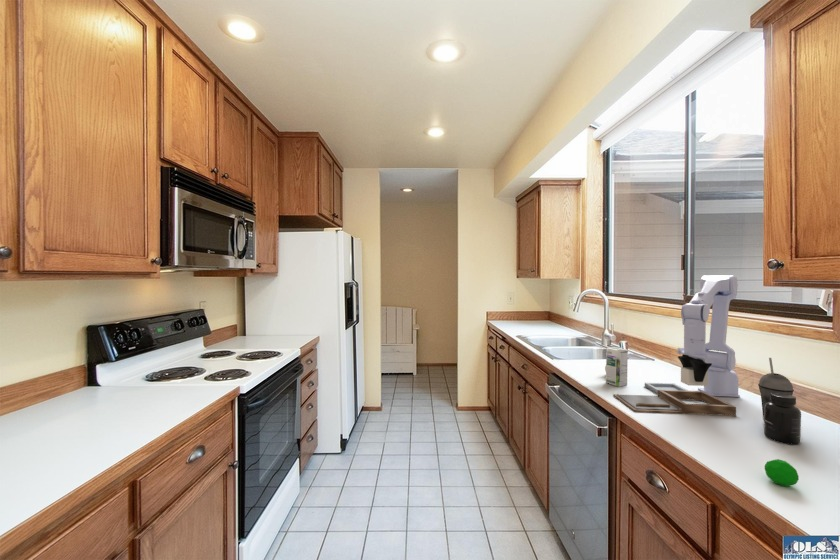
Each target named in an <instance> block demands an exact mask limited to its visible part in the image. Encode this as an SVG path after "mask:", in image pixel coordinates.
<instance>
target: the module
mask: <svg viewBox="0 0 840 560" xmlns="http://www.w3.org/2000/svg"><path fill="white" fill-rule="evenodd" d="M680 383H683V384H684V385H687V386H695V387H696V386H697V387H698V386H700V387H702V386H703V387H704V386H708V371H707V372H706V374H705V377H704V380H703V382H696V381H695V379H694V371H693V367H683V366H681V367H680Z"/></svg>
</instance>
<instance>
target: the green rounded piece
mask: <svg viewBox="0 0 840 560" xmlns="http://www.w3.org/2000/svg"><path fill="white" fill-rule="evenodd" d="M764 471H765V474H766V476H767V478H769V479H770V480H771V481H772V482H773V483H775V484H776V485H779V486H782V487H789V486H795V485H796V484H797V483H798V482H799V474H798V471H797V469H796V468H795V467H794V466H793V465H791V464H790V463H789V462H787V461H786V460H782V459H777V458H776V459H773V460H769V461H766V462H765V463H764Z"/></svg>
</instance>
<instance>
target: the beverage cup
mask: <svg viewBox="0 0 840 560" xmlns="http://www.w3.org/2000/svg"><path fill="white" fill-rule="evenodd" d="M768 361H769V367H770V372H769V373H766V374H764V375H762V376H761V377H760V379H759V381H758V389H759V393H760V400H761V408H762V419H763V421H764V416H765V404H766V403H767V402H771V400H770V393H771V392H778V393H785V394H789V395H792V396H794V387H793V386H794V385H793V384H792V381H790V379H788V377H786V376H785V375H783V374H780V373H776V372H774V367H773V358H772V357H768Z"/></svg>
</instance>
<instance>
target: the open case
mask: <svg viewBox="0 0 840 560" xmlns="http://www.w3.org/2000/svg"><path fill="white" fill-rule="evenodd" d="M613 397H614V398H615V397H616V398H615V399H617V400H618V401H619V400H620V401H619V402H621V403H622V404H624V405H625V407H627V408H629V409H630V410H631V411H633V412H635V413H651V412H652V413H655V414H681V415H682V414H683V415H684V414H685V415H706V414H707V415H712V416H733V417H734V416H737V406H736V405H733V404H731V403H729V402H726V401H725V400H722V399H720V398H719V397H717V396H712V395H710V394H708V393H705V392H703V391H701V390H689V391H684V390H658V394H657V395H645V394H642V395H641V394H640V395H639V394H618V393H617V394H613ZM687 399H689V400H690V401H692V400H693V401H695V400H696V401H702V400H703V401H702V402H704V401H705V402H704V404H702V403H686V402H684V401H682V400H687ZM705 403H706V404H705Z"/></svg>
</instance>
